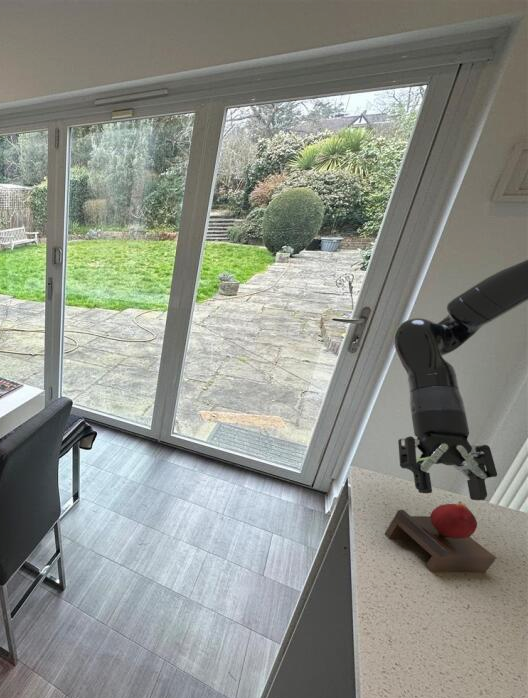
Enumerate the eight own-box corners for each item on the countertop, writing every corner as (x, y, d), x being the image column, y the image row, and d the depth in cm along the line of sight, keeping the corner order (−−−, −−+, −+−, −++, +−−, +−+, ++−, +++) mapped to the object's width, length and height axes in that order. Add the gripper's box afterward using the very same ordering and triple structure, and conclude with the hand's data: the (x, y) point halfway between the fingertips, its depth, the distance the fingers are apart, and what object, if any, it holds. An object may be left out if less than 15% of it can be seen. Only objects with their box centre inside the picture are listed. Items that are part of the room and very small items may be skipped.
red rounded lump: (468, 539, 76) (491, 506, 73) (460, 553, 73) (483, 520, 70) (427, 519, 80) (447, 488, 77) (418, 532, 78) (438, 500, 74)
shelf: (432, 534, 84) (448, 510, 81) (482, 577, 75) (502, 551, 72) (384, 533, 84) (398, 509, 81) (427, 575, 75) (445, 550, 72)
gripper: (411, 403, 79) (424, 489, 74) (498, 412, 76) (517, 501, 71) (383, 413, 86) (393, 492, 81) (461, 421, 83) (477, 503, 78)
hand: (451, 496), depth 76 cm, fingers open, 8 cm apart
